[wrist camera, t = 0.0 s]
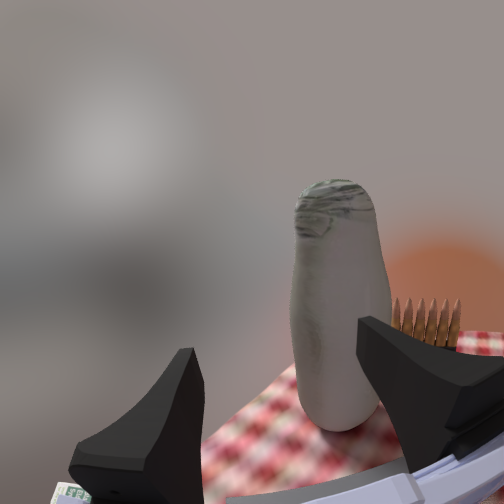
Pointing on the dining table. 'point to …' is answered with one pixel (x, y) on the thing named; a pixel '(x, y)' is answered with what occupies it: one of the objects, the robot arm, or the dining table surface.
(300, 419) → the dining table surface
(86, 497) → the syrup box
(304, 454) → the dining table surface
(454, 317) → the ammunition clip
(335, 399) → the grey bottle
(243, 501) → the slot board
